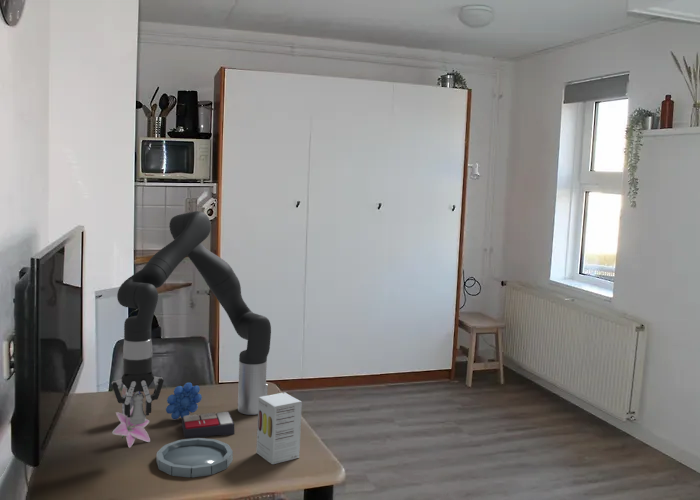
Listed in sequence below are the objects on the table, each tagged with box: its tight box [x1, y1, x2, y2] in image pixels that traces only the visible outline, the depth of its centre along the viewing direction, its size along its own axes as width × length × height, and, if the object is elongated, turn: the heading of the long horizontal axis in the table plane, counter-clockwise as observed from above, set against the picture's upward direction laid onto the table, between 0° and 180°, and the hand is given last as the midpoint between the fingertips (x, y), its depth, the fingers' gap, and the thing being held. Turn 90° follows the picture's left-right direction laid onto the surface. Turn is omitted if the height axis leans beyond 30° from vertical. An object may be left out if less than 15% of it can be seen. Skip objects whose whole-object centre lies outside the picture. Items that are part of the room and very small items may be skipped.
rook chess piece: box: [130, 392, 147, 424], centre depth 183 cm, size 4×4×8 cm
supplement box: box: [255, 391, 303, 465], centre depth 191 cm, size 10×9×17 cm
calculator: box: [181, 411, 236, 439], centre depth 208 cm, size 11×4×15 cm
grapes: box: [165, 382, 203, 420], centre depth 216 cm, size 12×7×12 cm, turn 120°
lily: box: [111, 407, 151, 449], centre depth 196 cm, size 12×12×10 cm
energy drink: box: [121, 384, 140, 414], centre depth 211 cm, size 5×5×12 cm
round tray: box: [156, 437, 234, 478], centre depth 185 cm, size 20×20×2 cm
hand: (137, 415), depth 184 cm, fingers closed on rook chess piece, 4 cm apart
